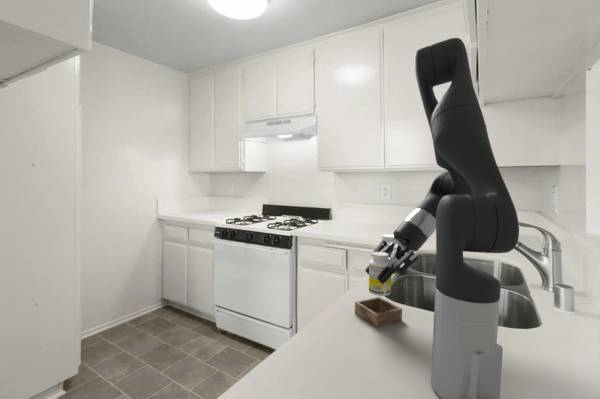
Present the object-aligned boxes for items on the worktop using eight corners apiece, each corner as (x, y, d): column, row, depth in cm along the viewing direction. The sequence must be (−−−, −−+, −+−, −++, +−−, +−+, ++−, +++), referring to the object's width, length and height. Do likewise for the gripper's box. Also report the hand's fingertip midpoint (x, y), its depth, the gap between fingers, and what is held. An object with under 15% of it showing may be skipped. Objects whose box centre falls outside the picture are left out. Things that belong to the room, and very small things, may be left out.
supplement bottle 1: (385, 288, 79) (386, 251, 78) (394, 296, 73) (395, 256, 73) (365, 289, 78) (366, 251, 78) (372, 297, 73) (373, 256, 72)
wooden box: (401, 320, 74) (402, 308, 74) (376, 327, 71) (376, 315, 70) (378, 307, 82) (379, 296, 82) (354, 312, 78) (355, 302, 78)
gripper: (391, 216, 83) (352, 260, 81) (425, 223, 70) (379, 276, 67) (407, 234, 85) (369, 277, 83) (443, 244, 71) (398, 297, 69)
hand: (373, 277), depth 75 cm, fingers closed on supplement bottle 1, 5 cm apart
